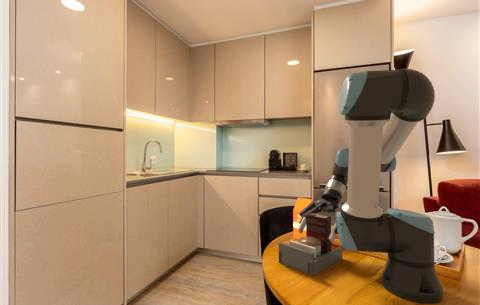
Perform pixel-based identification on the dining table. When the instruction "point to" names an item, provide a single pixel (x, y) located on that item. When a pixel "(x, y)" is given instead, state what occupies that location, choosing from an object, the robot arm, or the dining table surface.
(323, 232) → the supplement box
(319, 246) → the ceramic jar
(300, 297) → the dining table surface
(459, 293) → the dining table surface
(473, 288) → the dining table surface
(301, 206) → the orange juice
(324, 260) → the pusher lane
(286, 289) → the dining table surface
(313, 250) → the plate
